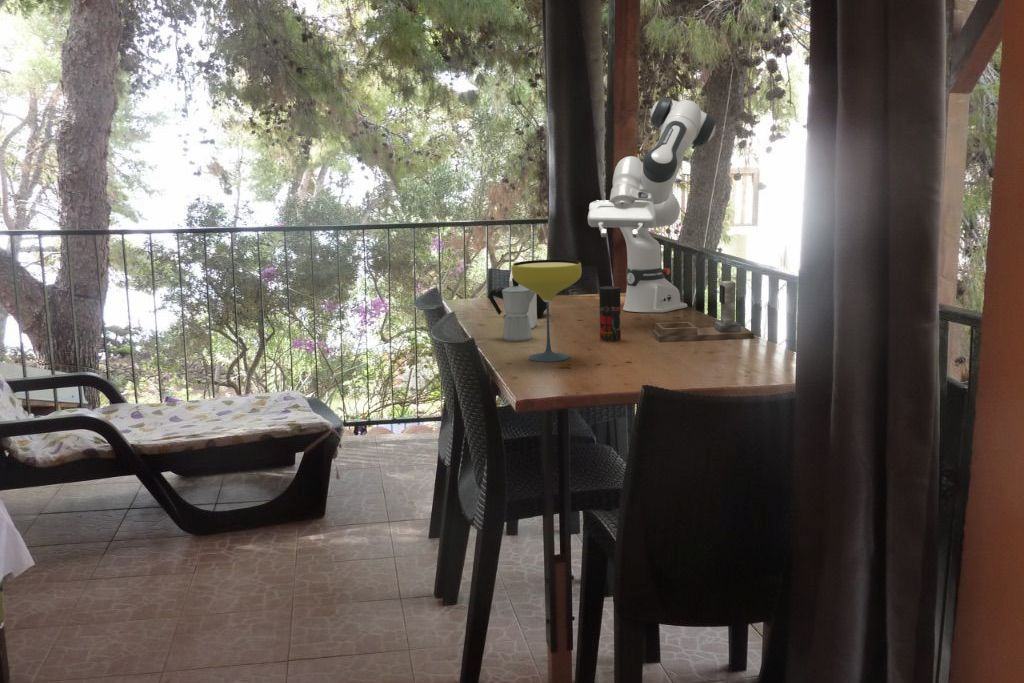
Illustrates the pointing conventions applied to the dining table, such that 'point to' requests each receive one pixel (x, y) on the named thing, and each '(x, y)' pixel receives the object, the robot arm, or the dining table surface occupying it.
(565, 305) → the dining table surface
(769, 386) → the dining table surface
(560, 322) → the dining table surface
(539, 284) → the cocktail glass
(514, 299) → the coffee maker
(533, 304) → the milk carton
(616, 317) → the deodorant
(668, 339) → the wooden stand
